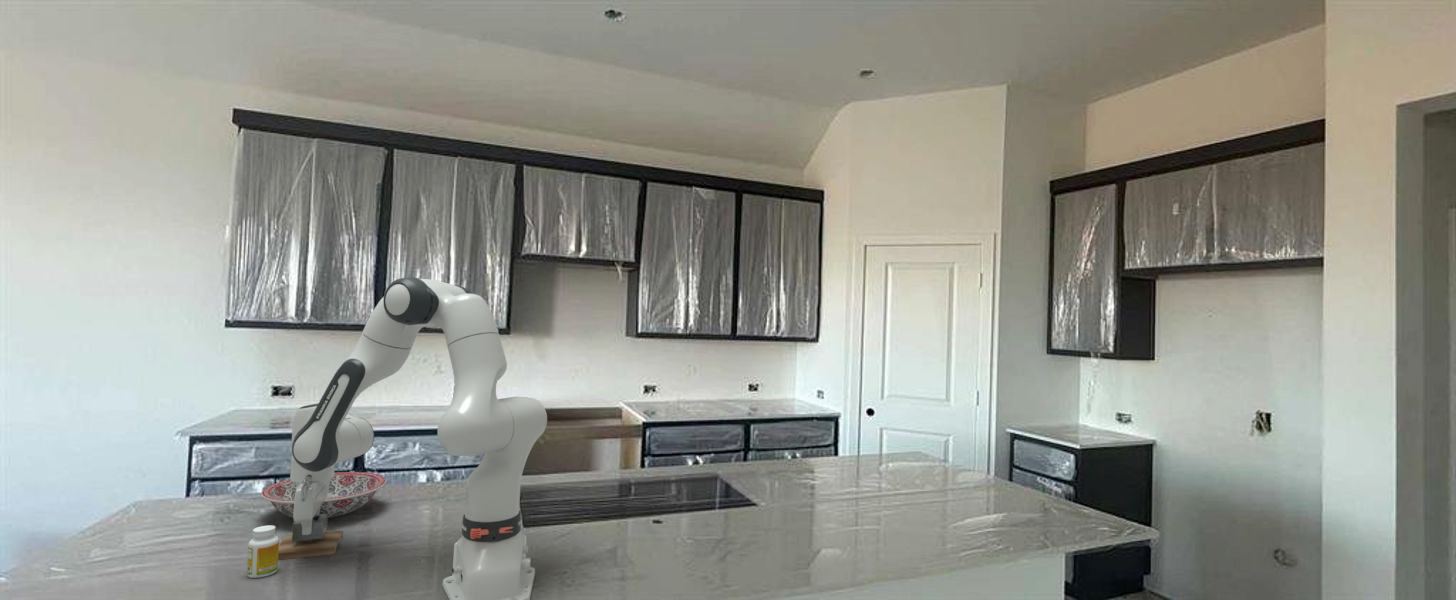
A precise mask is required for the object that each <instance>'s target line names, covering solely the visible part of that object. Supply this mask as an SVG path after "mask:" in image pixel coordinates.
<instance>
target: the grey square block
mask: <svg viewBox="0 0 1456 600" xmlns="http://www.w3.org/2000/svg"><path fill="white" fill-rule="evenodd" d="M327 517H328V514H319V515H314V517H313V519H315V521H312V525H313V526H312V532H311V534H309V535H303V534H302V525H301V522H295V521H293V524H292V534H291V535H292V542H293V541H303V540H314V539H322V538H323V536H324V535H325V533H326V532H328V518H327Z"/></svg>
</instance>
